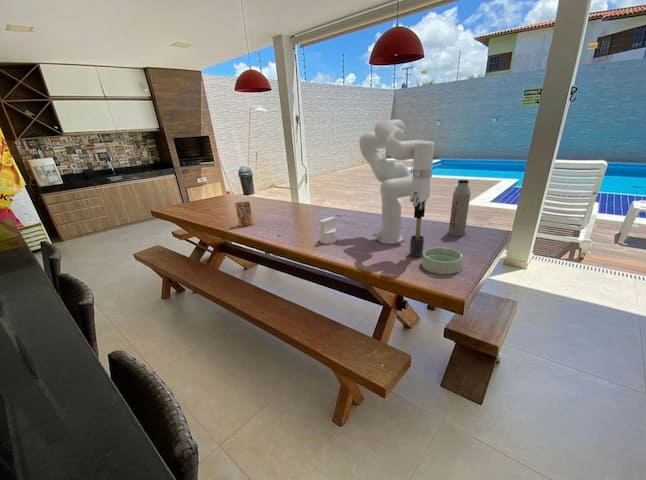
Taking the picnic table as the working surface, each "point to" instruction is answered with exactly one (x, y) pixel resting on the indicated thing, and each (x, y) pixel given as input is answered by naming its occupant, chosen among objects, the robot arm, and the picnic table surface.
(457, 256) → the bowl
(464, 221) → the thermos bottle
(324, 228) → the cylinder with rectangular tab
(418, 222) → the stick
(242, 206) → the candy box
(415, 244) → the holder
